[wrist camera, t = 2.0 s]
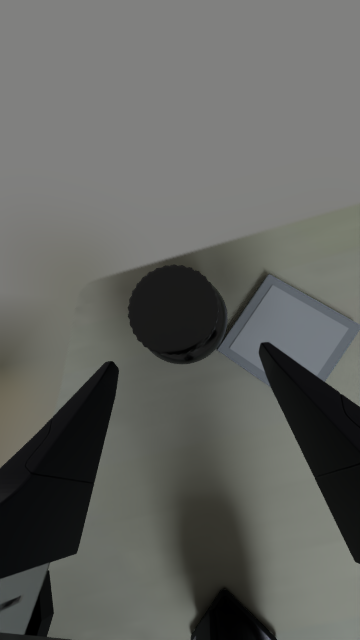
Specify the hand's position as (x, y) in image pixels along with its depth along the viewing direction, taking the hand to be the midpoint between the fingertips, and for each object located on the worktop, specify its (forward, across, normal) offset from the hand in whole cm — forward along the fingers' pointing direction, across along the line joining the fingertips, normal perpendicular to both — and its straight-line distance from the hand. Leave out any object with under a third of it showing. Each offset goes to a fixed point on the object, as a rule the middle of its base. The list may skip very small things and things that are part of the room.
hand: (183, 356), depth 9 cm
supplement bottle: (+9, 0, +6) cm, 11 cm away
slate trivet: (+7, -11, +8) cm, 15 cm away
